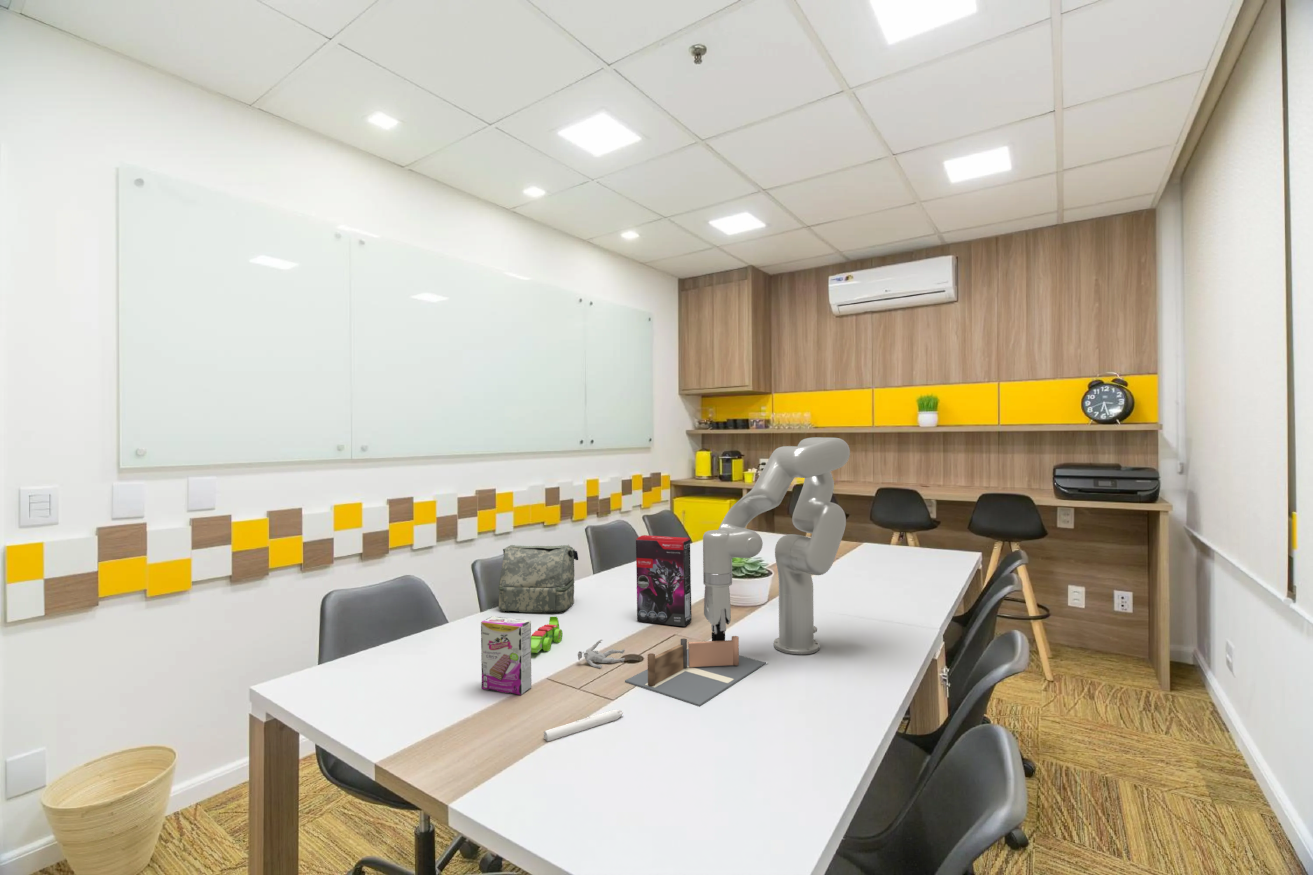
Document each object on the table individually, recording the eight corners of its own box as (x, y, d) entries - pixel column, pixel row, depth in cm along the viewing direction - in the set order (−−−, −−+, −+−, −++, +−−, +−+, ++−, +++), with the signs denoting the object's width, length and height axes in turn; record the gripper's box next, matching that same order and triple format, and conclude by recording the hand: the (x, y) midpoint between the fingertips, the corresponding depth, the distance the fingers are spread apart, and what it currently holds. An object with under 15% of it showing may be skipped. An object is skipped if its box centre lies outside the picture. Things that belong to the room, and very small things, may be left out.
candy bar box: (480, 690, 144) (479, 621, 144) (492, 682, 149) (491, 615, 149) (521, 696, 140) (520, 625, 140) (532, 687, 145) (531, 619, 145)
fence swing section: (689, 667, 154) (689, 640, 154) (688, 664, 156) (688, 637, 156) (739, 665, 156) (739, 637, 156) (738, 662, 157) (737, 635, 157)
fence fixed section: (682, 665, 156) (682, 637, 156) (688, 667, 155) (688, 639, 155) (646, 684, 145) (646, 654, 145) (652, 686, 144) (651, 656, 144)
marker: (620, 715, 131) (620, 704, 131) (625, 718, 129) (625, 707, 129) (543, 739, 121) (543, 727, 121) (547, 743, 119) (547, 731, 119)
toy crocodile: (539, 659, 164) (539, 637, 163) (517, 657, 165) (517, 635, 165) (568, 635, 183) (568, 615, 183) (548, 634, 184) (547, 614, 184)
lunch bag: (582, 601, 220) (581, 541, 220) (566, 615, 202) (565, 550, 202) (514, 598, 225) (513, 539, 224) (493, 612, 207) (492, 549, 206)
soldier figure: (625, 670, 158) (582, 662, 154) (617, 678, 161) (575, 670, 157) (625, 642, 163) (583, 633, 159) (618, 650, 166) (577, 642, 162)
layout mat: (696, 646, 172) (696, 644, 172) (766, 663, 159) (766, 661, 159) (624, 681, 148) (624, 680, 148) (699, 706, 134) (699, 704, 134)
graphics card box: (635, 622, 195) (634, 537, 195) (643, 616, 201) (643, 534, 201) (685, 628, 188) (684, 540, 188) (692, 621, 194) (691, 537, 194)
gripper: (697, 572, 165) (697, 639, 165) (711, 585, 151) (712, 659, 151) (723, 571, 167) (724, 637, 167) (740, 584, 152) (740, 657, 152)
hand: (718, 647), depth 159 cm, fingers closed
